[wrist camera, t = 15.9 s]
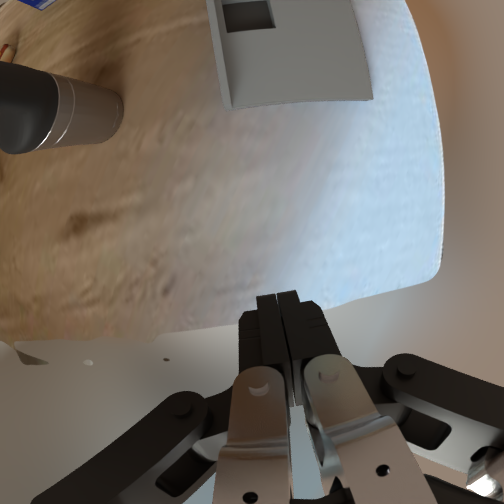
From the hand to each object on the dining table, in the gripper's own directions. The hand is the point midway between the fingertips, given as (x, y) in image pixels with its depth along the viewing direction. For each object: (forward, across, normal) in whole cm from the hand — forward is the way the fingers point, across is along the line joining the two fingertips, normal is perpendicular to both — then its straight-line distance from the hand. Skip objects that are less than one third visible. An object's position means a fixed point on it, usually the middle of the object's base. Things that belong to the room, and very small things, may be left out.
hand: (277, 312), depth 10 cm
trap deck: (+32, -9, -28) cm, 44 cm away
